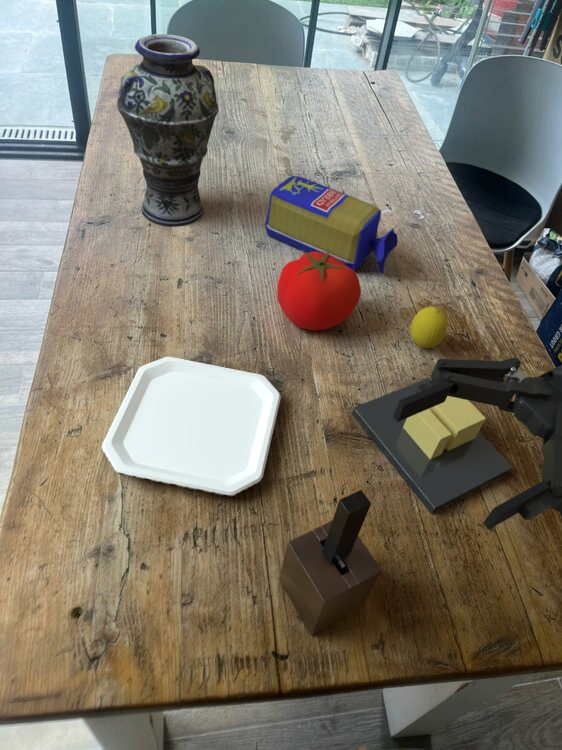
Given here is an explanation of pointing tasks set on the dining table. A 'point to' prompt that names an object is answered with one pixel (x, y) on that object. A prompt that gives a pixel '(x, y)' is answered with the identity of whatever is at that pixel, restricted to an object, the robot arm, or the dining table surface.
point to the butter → (459, 420)
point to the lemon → (428, 327)
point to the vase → (169, 125)
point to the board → (423, 475)
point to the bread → (327, 223)
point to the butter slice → (427, 433)
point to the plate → (194, 426)
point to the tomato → (317, 291)
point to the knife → (345, 528)
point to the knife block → (326, 579)
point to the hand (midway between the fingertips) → (441, 461)
